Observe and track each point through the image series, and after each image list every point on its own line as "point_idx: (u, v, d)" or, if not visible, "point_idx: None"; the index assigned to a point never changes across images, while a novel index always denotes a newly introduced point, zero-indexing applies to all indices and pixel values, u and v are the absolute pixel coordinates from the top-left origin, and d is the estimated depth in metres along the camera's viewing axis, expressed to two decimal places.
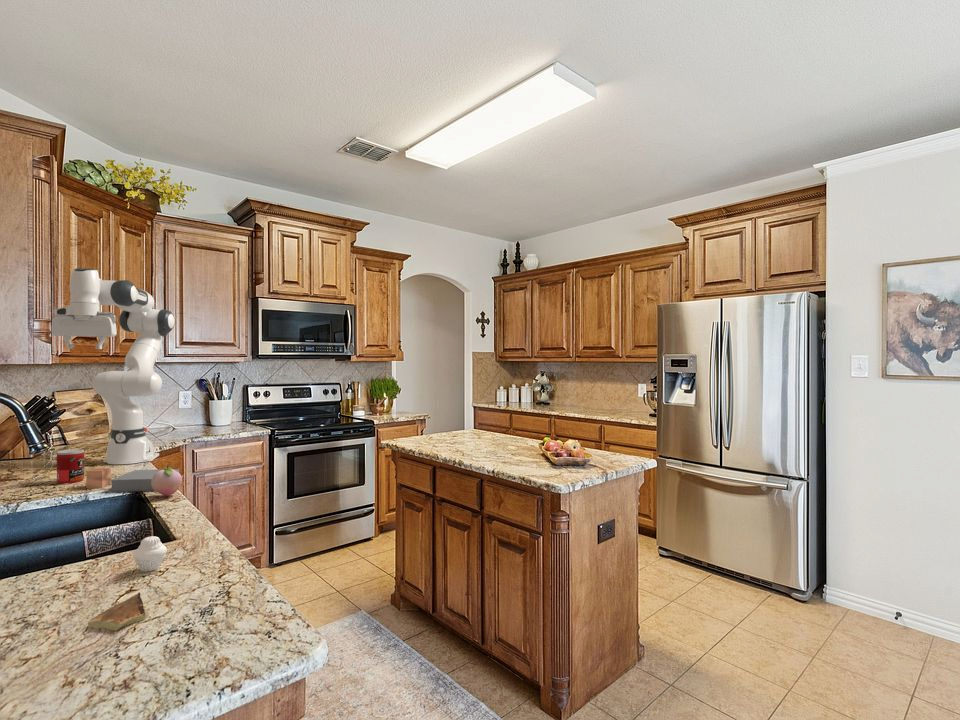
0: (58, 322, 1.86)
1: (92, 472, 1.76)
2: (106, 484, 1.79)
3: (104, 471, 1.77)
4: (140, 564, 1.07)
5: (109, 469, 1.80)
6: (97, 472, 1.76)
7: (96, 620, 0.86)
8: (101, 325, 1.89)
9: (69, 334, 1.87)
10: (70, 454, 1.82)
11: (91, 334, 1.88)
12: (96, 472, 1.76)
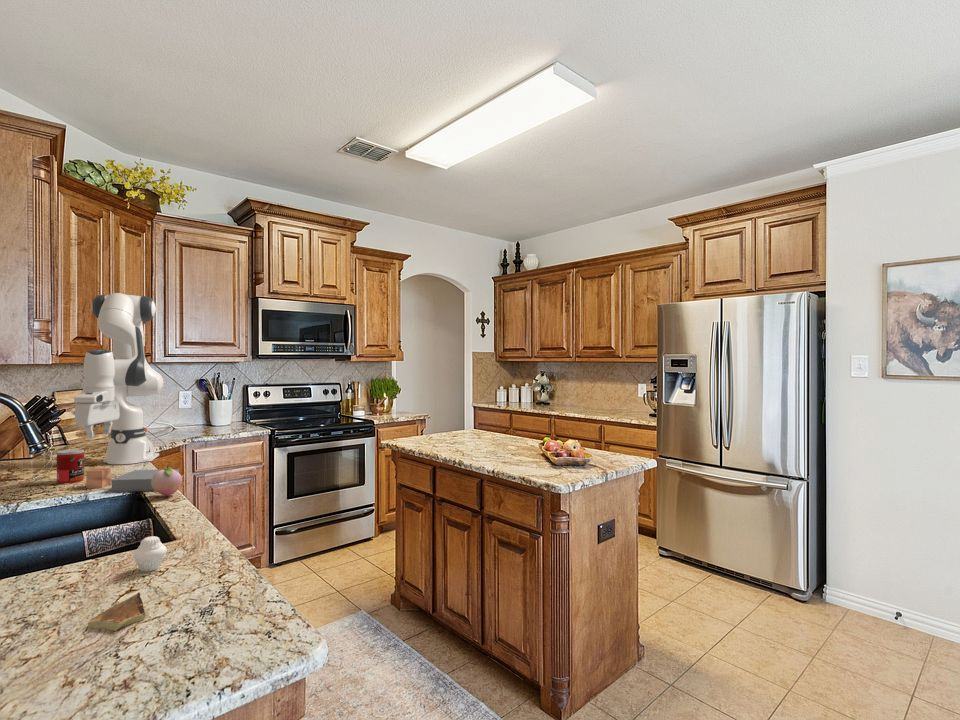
0: (91, 410, 1.71)
1: (92, 472, 1.76)
2: (106, 484, 1.79)
3: (104, 471, 1.77)
4: (140, 564, 1.07)
5: (109, 469, 1.80)
6: (97, 472, 1.76)
7: (96, 620, 0.86)
8: (114, 409, 1.85)
9: (97, 422, 1.74)
10: (70, 454, 1.82)
11: (109, 419, 1.81)
12: (96, 472, 1.76)
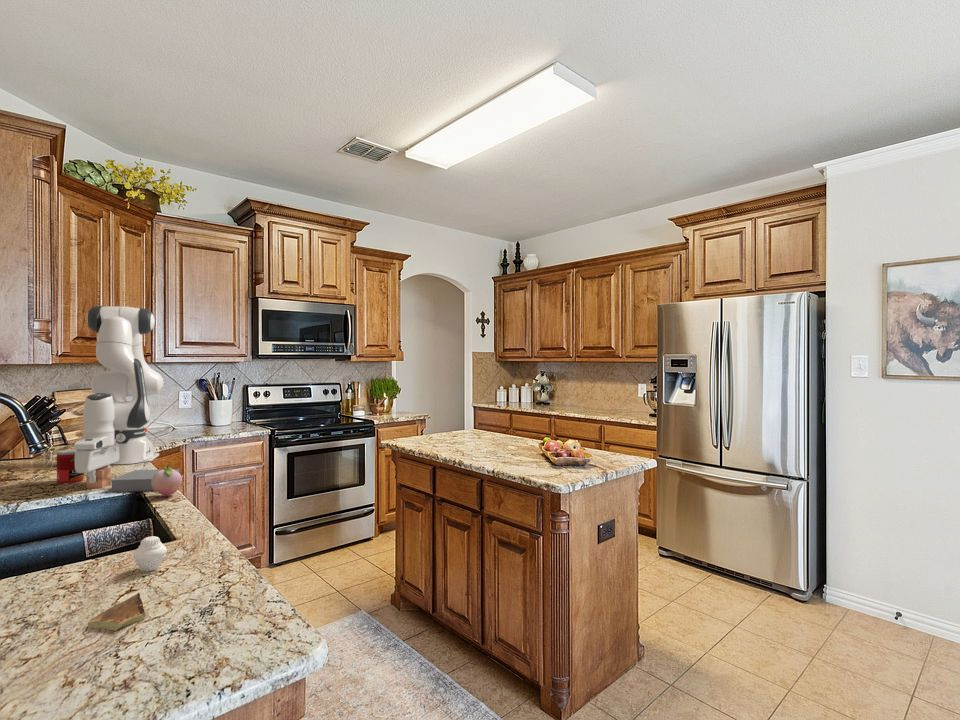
0: (91, 457, 1.71)
1: None
2: (106, 484, 1.79)
3: (104, 471, 1.77)
4: (140, 564, 1.07)
5: (109, 469, 1.80)
6: (97, 472, 1.76)
7: (96, 620, 0.86)
8: (114, 452, 1.85)
9: (97, 467, 1.74)
10: (70, 454, 1.82)
11: (109, 463, 1.82)
12: (96, 472, 1.76)
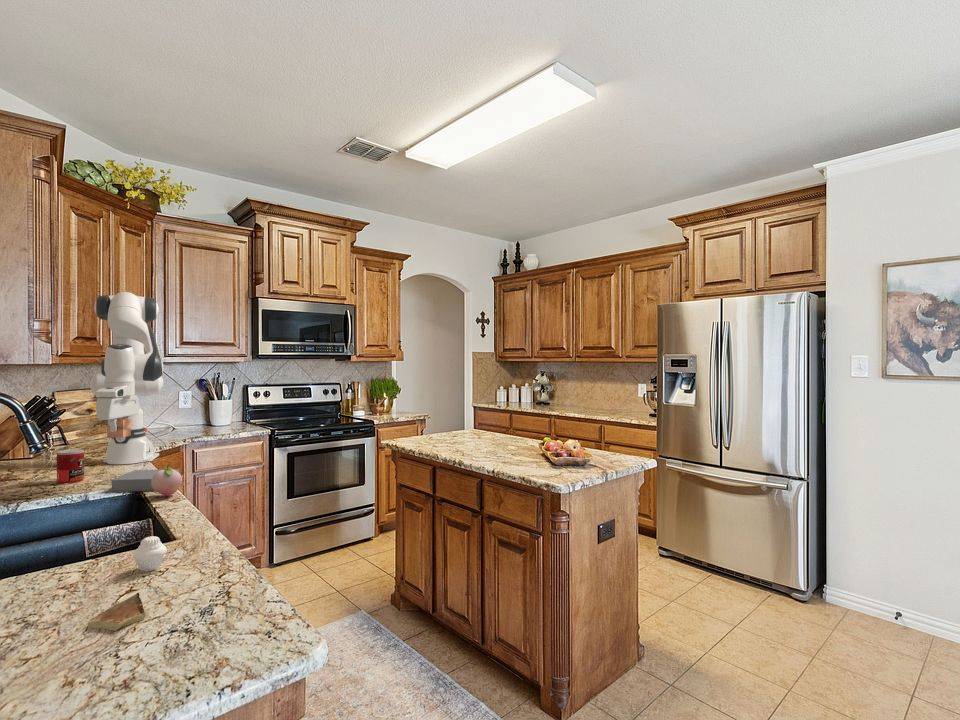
0: (112, 405, 1.71)
1: None
2: (127, 434, 1.79)
3: (125, 421, 1.78)
4: (140, 564, 1.07)
5: (129, 420, 1.81)
6: (118, 421, 1.76)
7: (95, 620, 0.86)
8: (134, 404, 1.85)
9: (118, 416, 1.75)
10: (70, 454, 1.82)
11: (129, 414, 1.82)
12: (117, 421, 1.76)
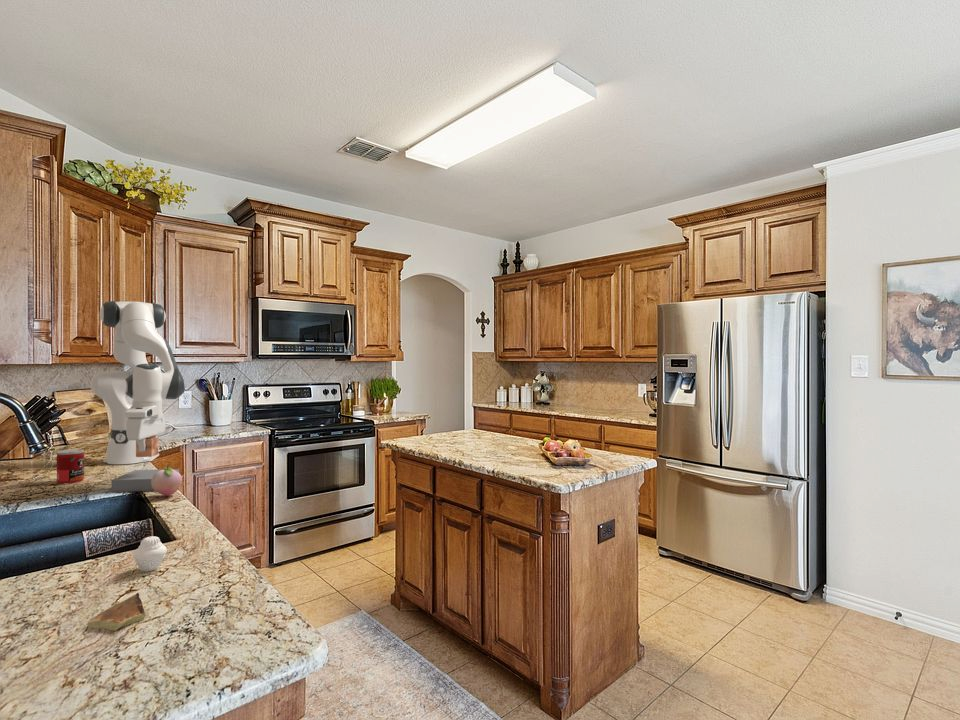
0: (142, 425, 1.72)
1: None
2: (155, 453, 1.80)
3: (153, 440, 1.79)
4: (140, 564, 1.07)
5: (157, 438, 1.82)
6: (146, 441, 1.77)
7: (95, 620, 0.86)
8: (161, 423, 1.86)
9: (147, 436, 1.76)
10: (70, 454, 1.82)
11: (157, 433, 1.83)
12: (145, 441, 1.77)
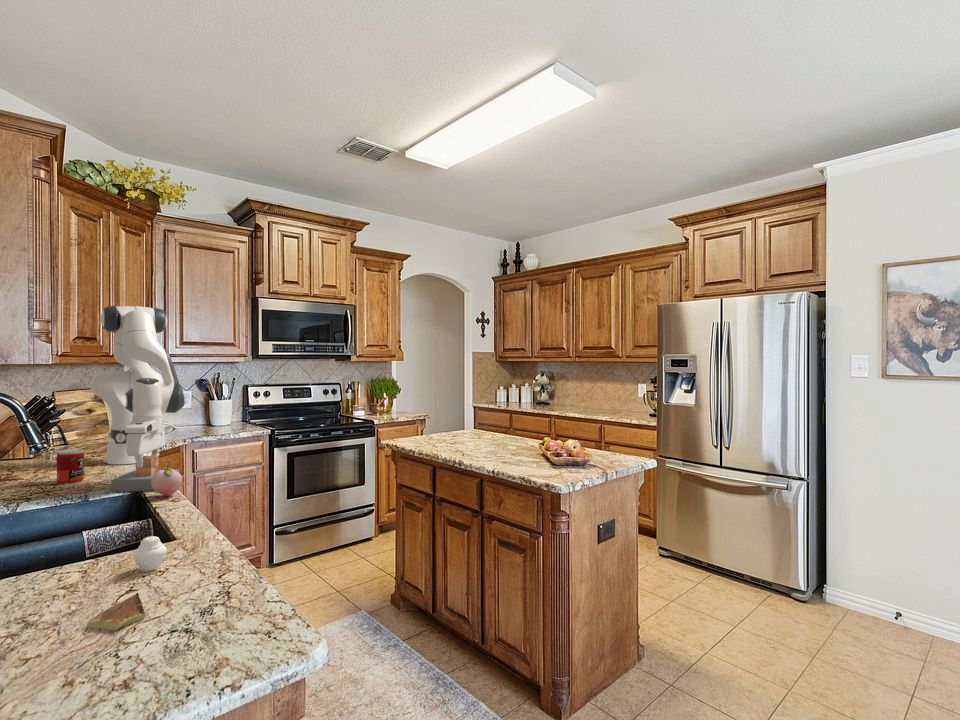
0: (142, 440, 1.72)
1: None
2: (154, 472, 1.80)
3: (153, 459, 1.79)
4: (140, 564, 1.07)
5: (157, 457, 1.82)
6: (146, 460, 1.77)
7: (95, 620, 0.86)
8: (161, 437, 1.86)
9: (146, 451, 1.76)
10: (70, 454, 1.82)
11: (157, 447, 1.83)
12: (145, 460, 1.77)
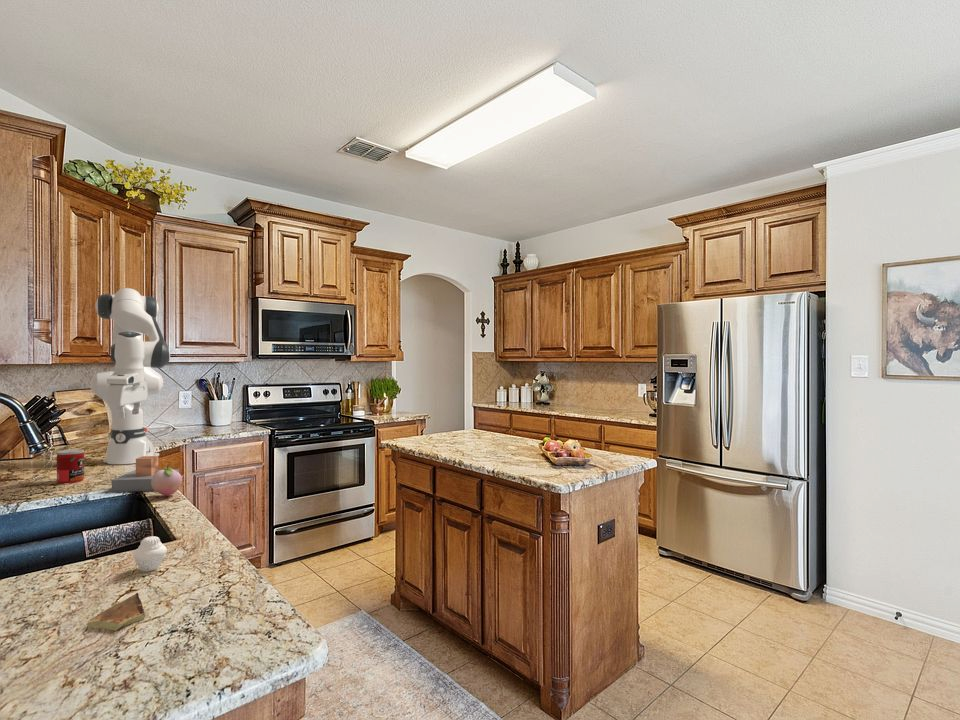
0: (123, 391, 1.75)
1: (141, 460, 1.77)
2: (154, 472, 1.80)
3: (153, 459, 1.79)
4: (140, 564, 1.07)
5: (157, 457, 1.82)
6: (146, 460, 1.77)
7: (95, 620, 0.86)
8: (143, 390, 1.89)
9: (128, 403, 1.79)
10: (70, 454, 1.82)
11: (139, 400, 1.86)
12: (145, 460, 1.77)
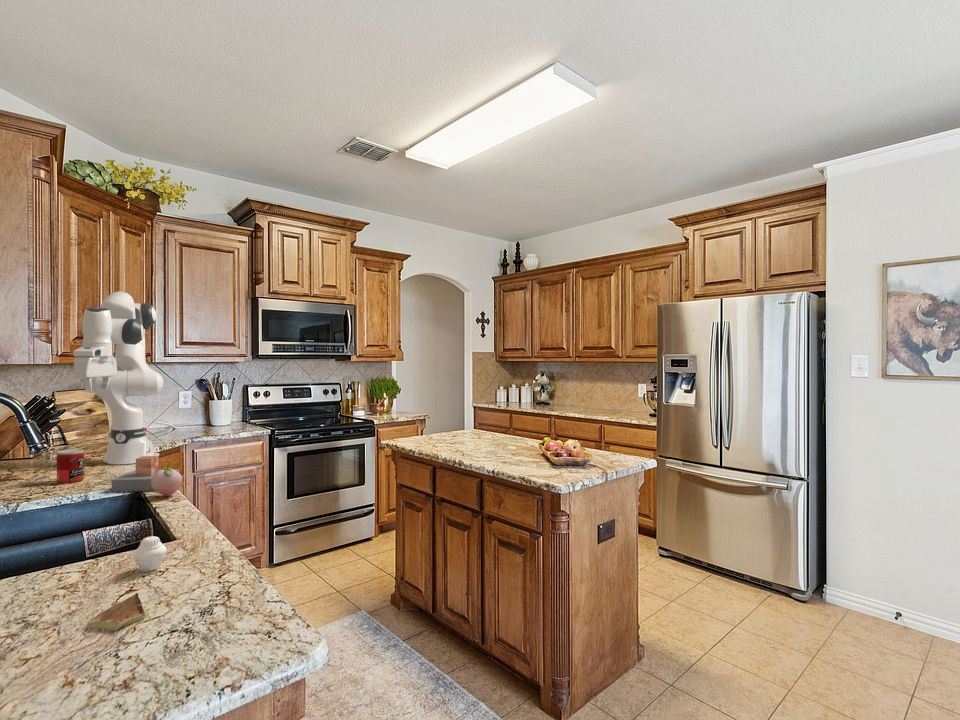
0: (90, 364, 1.80)
1: (141, 460, 1.77)
2: (154, 472, 1.80)
3: (153, 459, 1.79)
4: (140, 564, 1.07)
5: (157, 457, 1.82)
6: (146, 460, 1.77)
7: (95, 621, 0.86)
8: (112, 366, 1.94)
9: (95, 375, 1.83)
10: (70, 454, 1.82)
11: (107, 374, 1.91)
12: (145, 460, 1.77)
